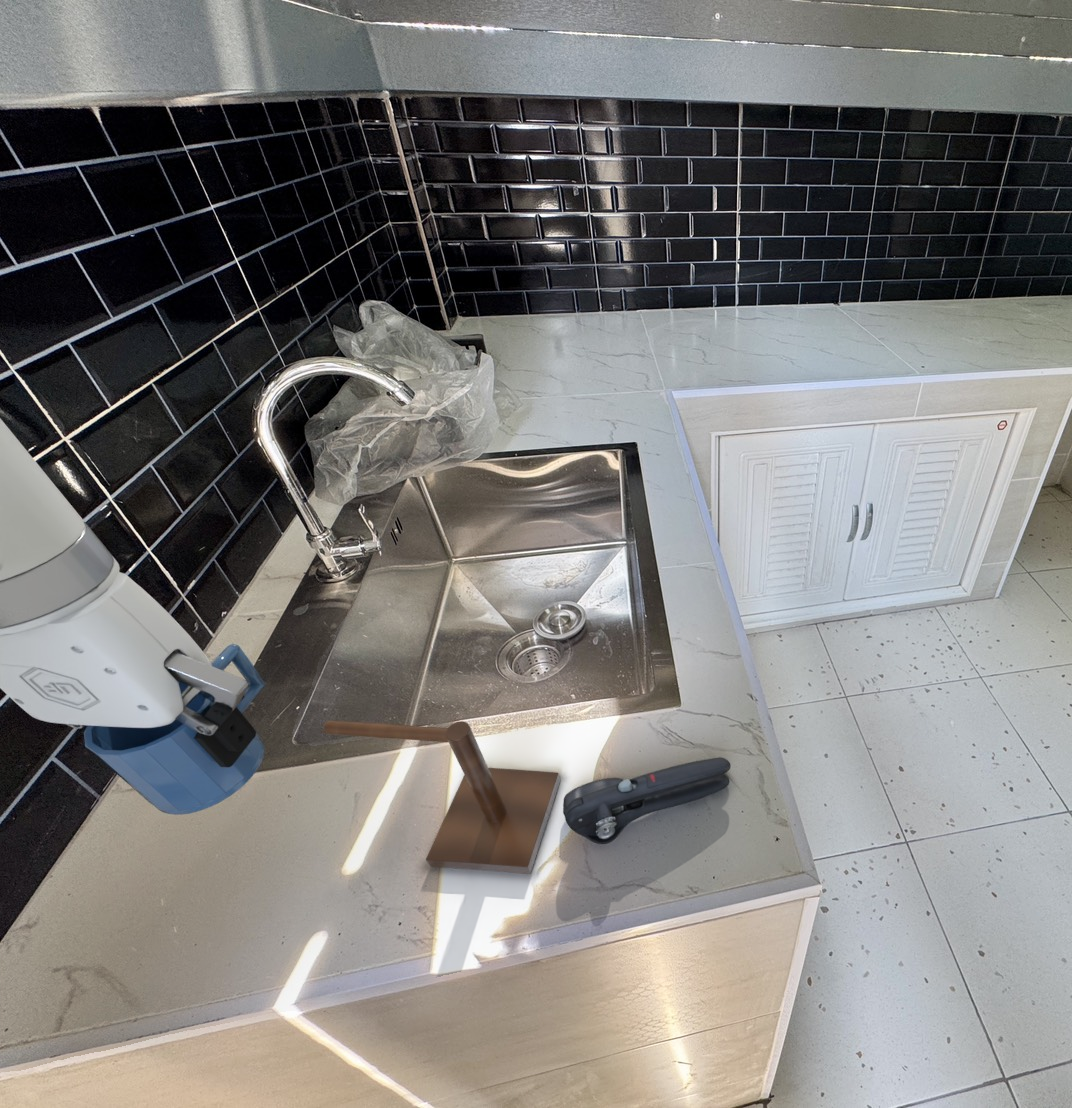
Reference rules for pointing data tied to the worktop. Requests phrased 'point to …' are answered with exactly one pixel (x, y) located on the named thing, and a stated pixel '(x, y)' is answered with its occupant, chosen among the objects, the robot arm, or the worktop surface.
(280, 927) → the worktop surface
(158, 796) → the mug
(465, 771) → the mug stand
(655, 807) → the can opener
